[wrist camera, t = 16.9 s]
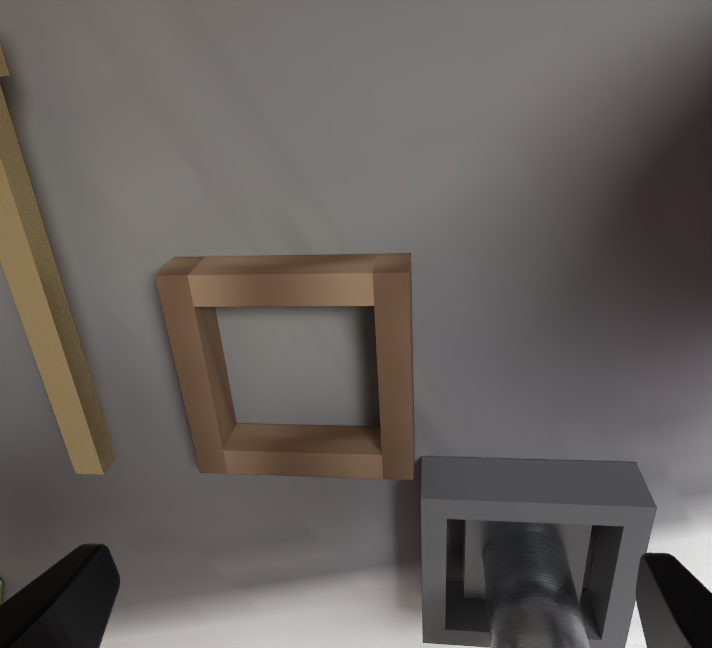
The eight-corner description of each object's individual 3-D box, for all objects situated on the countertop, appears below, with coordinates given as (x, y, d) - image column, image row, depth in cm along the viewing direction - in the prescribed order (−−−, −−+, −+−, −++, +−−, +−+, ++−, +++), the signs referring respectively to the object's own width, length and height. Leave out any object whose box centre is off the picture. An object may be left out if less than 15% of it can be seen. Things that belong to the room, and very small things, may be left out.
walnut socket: (411, 253, 21) (409, 272, 19) (414, 450, 25) (413, 479, 23) (174, 257, 22) (154, 275, 20) (214, 445, 26) (200, 472, 24)
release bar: (-14, -1, 17) (-134, -7, 13) (124, 458, 24) (72, 533, 21) (-77, 4, 17) (-211, -1, 13) (79, 456, 24) (19, 530, 21)
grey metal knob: (584, 493, 25) (649, 697, 17) (572, 575, 27) (625, 787, 20) (464, 489, 26) (477, 684, 18) (462, 570, 28) (473, 773, 20)
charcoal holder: (636, 462, 24) (656, 507, 22) (607, 605, 28) (622, 656, 25) (421, 456, 25) (420, 498, 23) (423, 595, 29) (422, 642, 27)
